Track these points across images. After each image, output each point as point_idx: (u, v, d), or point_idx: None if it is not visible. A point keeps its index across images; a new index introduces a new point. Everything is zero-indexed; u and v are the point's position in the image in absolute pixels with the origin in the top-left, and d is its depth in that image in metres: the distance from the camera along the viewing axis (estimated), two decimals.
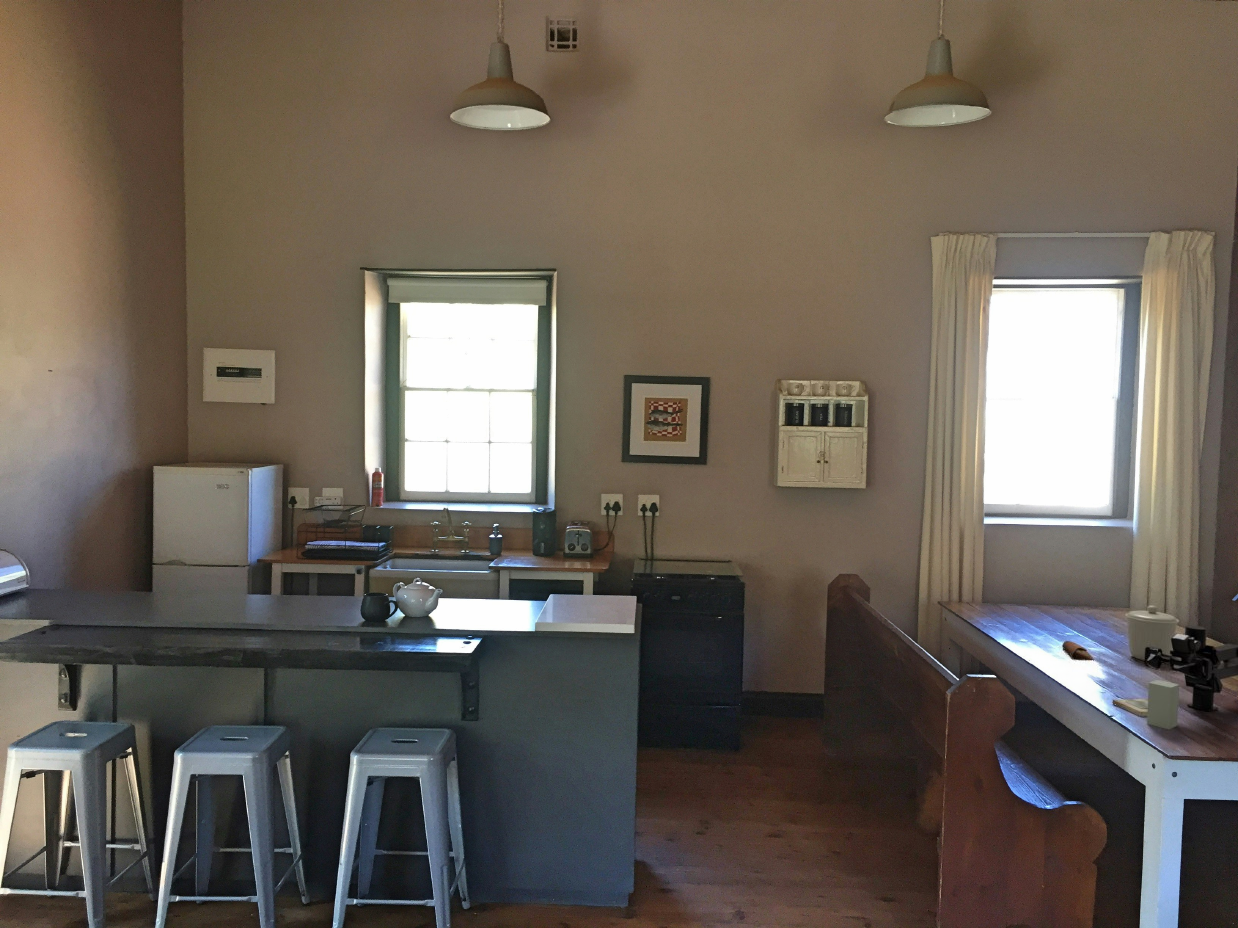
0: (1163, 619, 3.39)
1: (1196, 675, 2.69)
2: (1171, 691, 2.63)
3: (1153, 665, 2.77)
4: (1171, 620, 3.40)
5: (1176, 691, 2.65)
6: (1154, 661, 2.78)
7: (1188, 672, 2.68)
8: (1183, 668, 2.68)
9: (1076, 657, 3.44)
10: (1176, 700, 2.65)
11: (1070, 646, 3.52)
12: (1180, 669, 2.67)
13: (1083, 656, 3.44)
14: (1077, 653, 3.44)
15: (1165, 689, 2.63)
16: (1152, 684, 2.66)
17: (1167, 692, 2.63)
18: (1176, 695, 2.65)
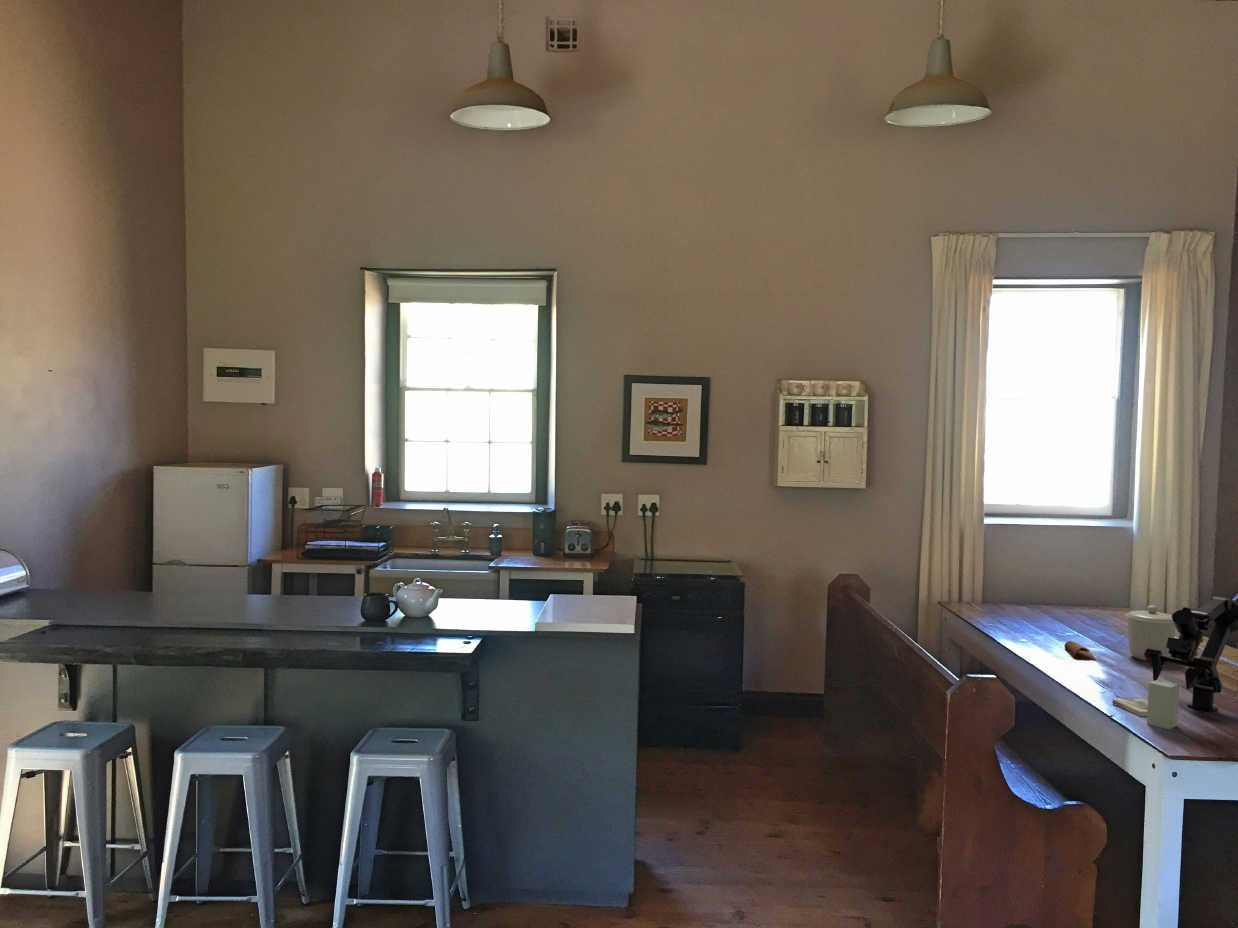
0: (1163, 619, 3.39)
1: (1203, 677, 2.67)
2: (1171, 691, 2.63)
3: (1159, 673, 2.75)
4: (1171, 620, 3.40)
5: (1176, 691, 2.65)
6: (1158, 669, 2.75)
7: (1196, 682, 2.66)
8: (1191, 684, 2.66)
9: (1079, 657, 3.44)
10: (1176, 700, 2.65)
11: (1072, 646, 3.51)
12: (1188, 687, 2.65)
13: (1085, 656, 3.43)
14: (1079, 653, 3.44)
15: (1165, 689, 2.63)
16: (1152, 684, 2.66)
17: (1167, 692, 2.63)
18: (1176, 695, 2.65)
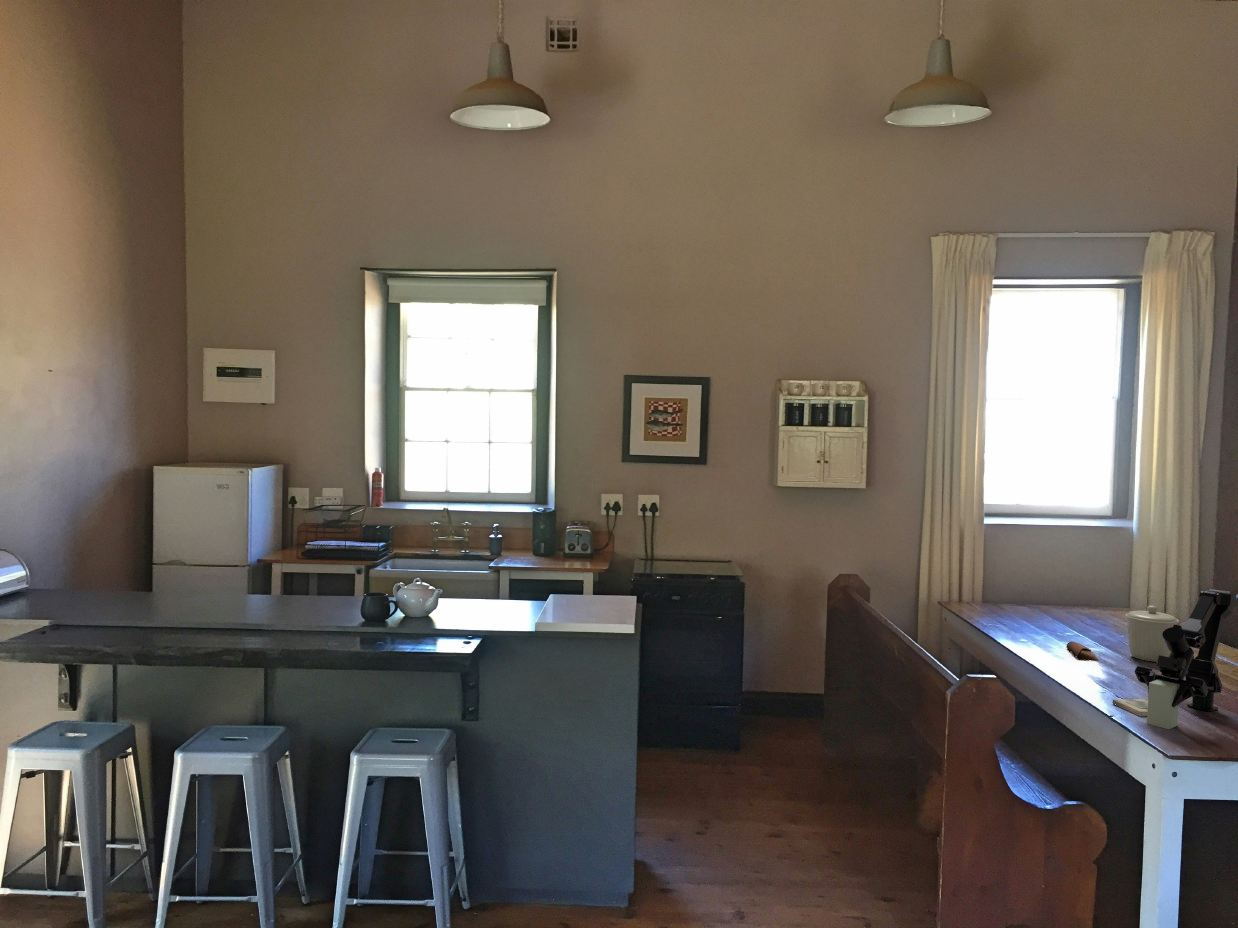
0: (1163, 619, 3.39)
1: (1189, 695, 2.65)
2: (1171, 691, 2.62)
3: None
4: (1171, 620, 3.40)
5: (1176, 691, 2.65)
6: None
7: (1181, 700, 2.64)
8: (1176, 702, 2.63)
9: (1081, 658, 3.43)
10: None
11: (1074, 647, 3.51)
12: (1174, 705, 2.63)
13: (1088, 657, 3.43)
14: (1082, 654, 3.43)
15: (1165, 689, 2.63)
16: (1152, 684, 2.66)
17: (1167, 692, 2.63)
18: None
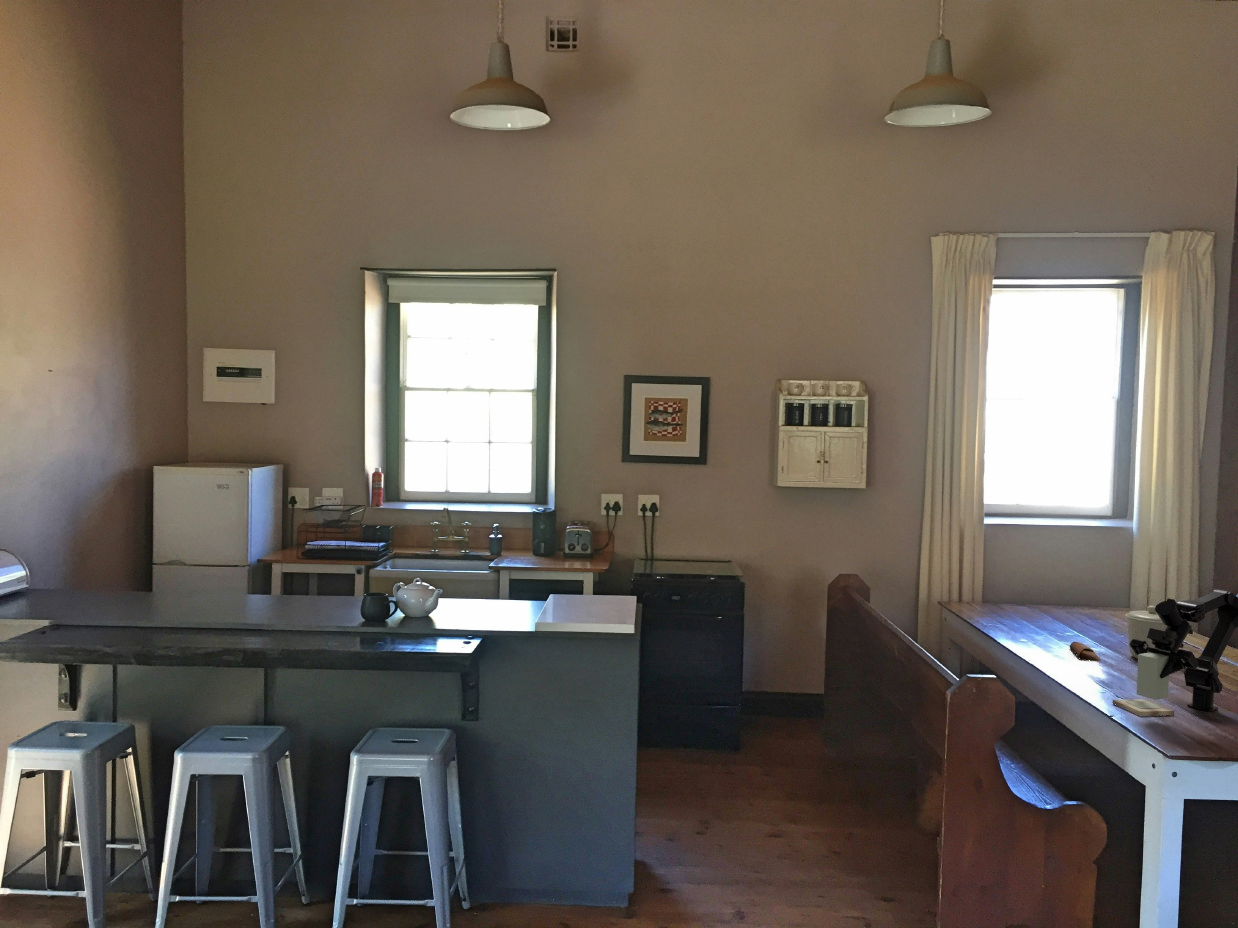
0: None
1: (1179, 667, 2.70)
2: (1158, 662, 2.68)
3: None
4: None
5: (1165, 663, 2.70)
6: None
7: (1171, 671, 2.69)
8: (1164, 673, 2.69)
9: (1082, 658, 3.43)
10: None
11: (1077, 647, 3.51)
12: (1162, 676, 2.69)
13: (1089, 657, 3.43)
14: (1083, 654, 3.43)
15: (1153, 661, 2.69)
16: (1141, 656, 2.73)
17: (1154, 663, 2.69)
18: None
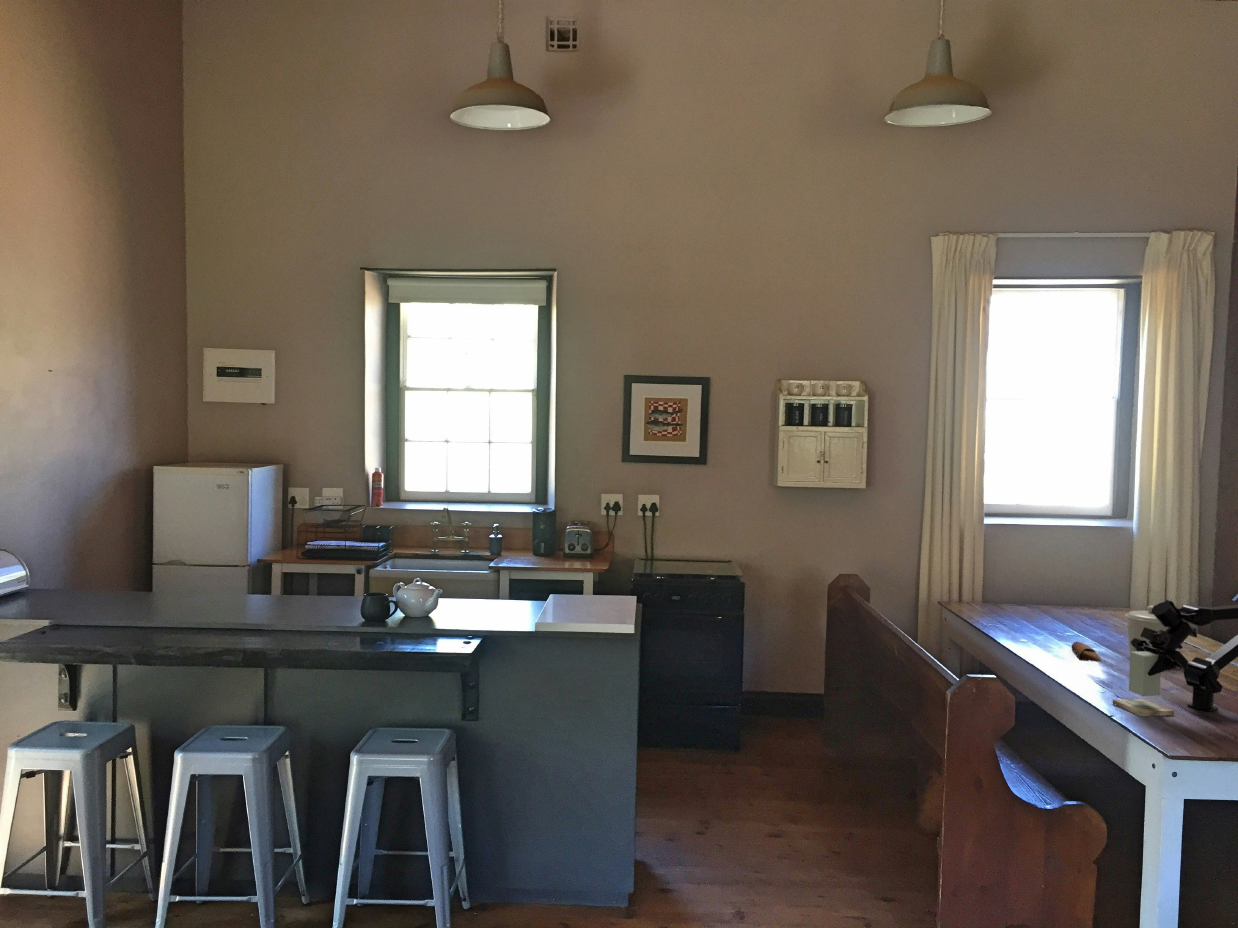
0: None
1: (1170, 666, 2.76)
2: (1145, 660, 2.77)
3: None
4: None
5: (1155, 661, 2.78)
6: None
7: (1160, 670, 2.77)
8: (1152, 671, 2.77)
9: (1083, 658, 3.43)
10: None
11: (1078, 647, 3.51)
12: (1150, 674, 2.77)
13: (1090, 657, 3.43)
14: (1084, 654, 3.43)
15: (1141, 658, 2.79)
16: (1132, 653, 2.82)
17: (1142, 661, 2.78)
18: None
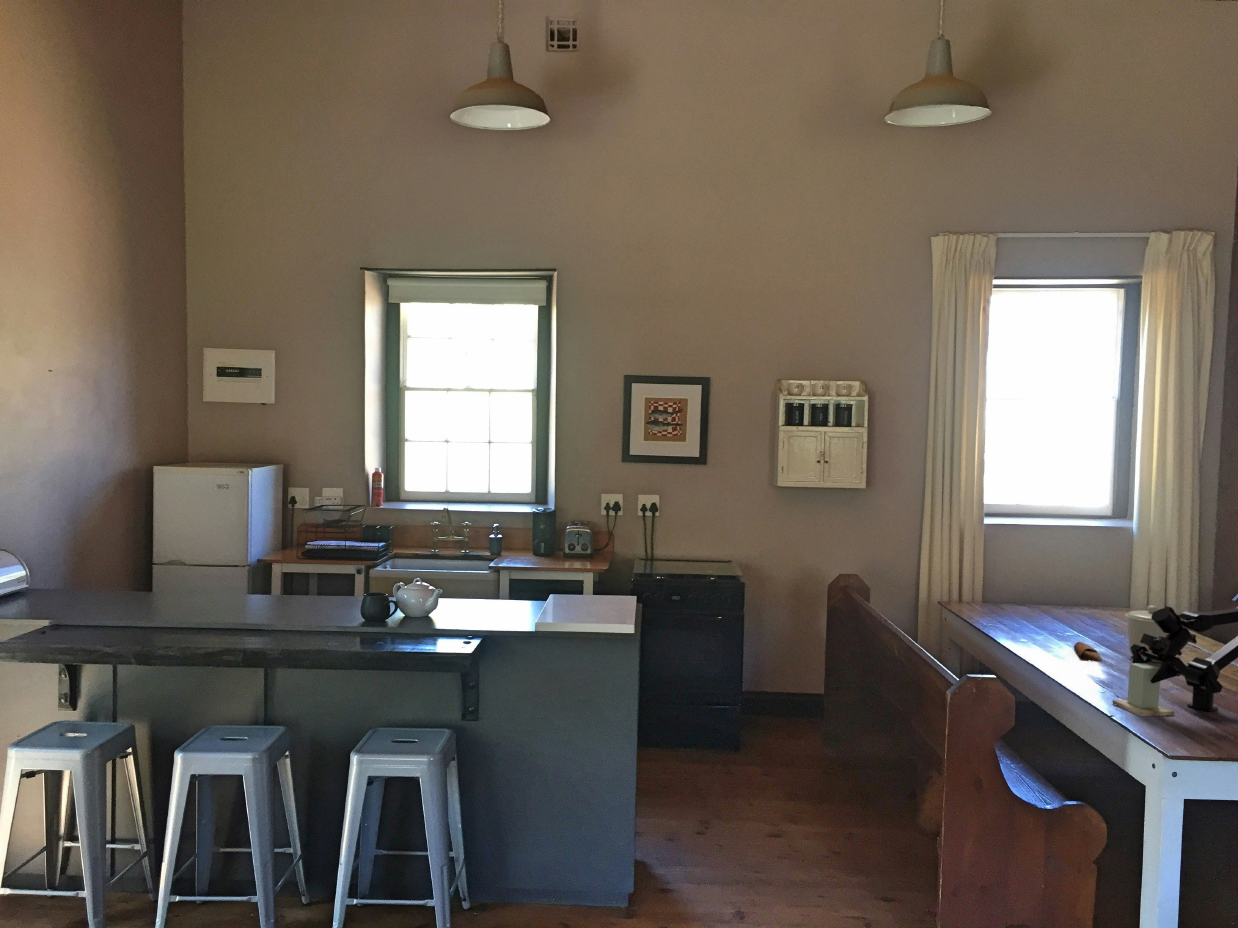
0: None
1: (1173, 674, 2.75)
2: (1145, 672, 2.78)
3: None
4: None
5: (1154, 673, 2.78)
6: None
7: (1163, 677, 2.76)
8: (1155, 679, 2.76)
9: (1084, 658, 3.43)
10: None
11: (1080, 647, 3.51)
12: (1153, 681, 2.76)
13: (1091, 657, 3.43)
14: (1085, 654, 3.43)
15: (1140, 670, 2.79)
16: (1132, 665, 2.83)
17: (1141, 672, 2.78)
18: None
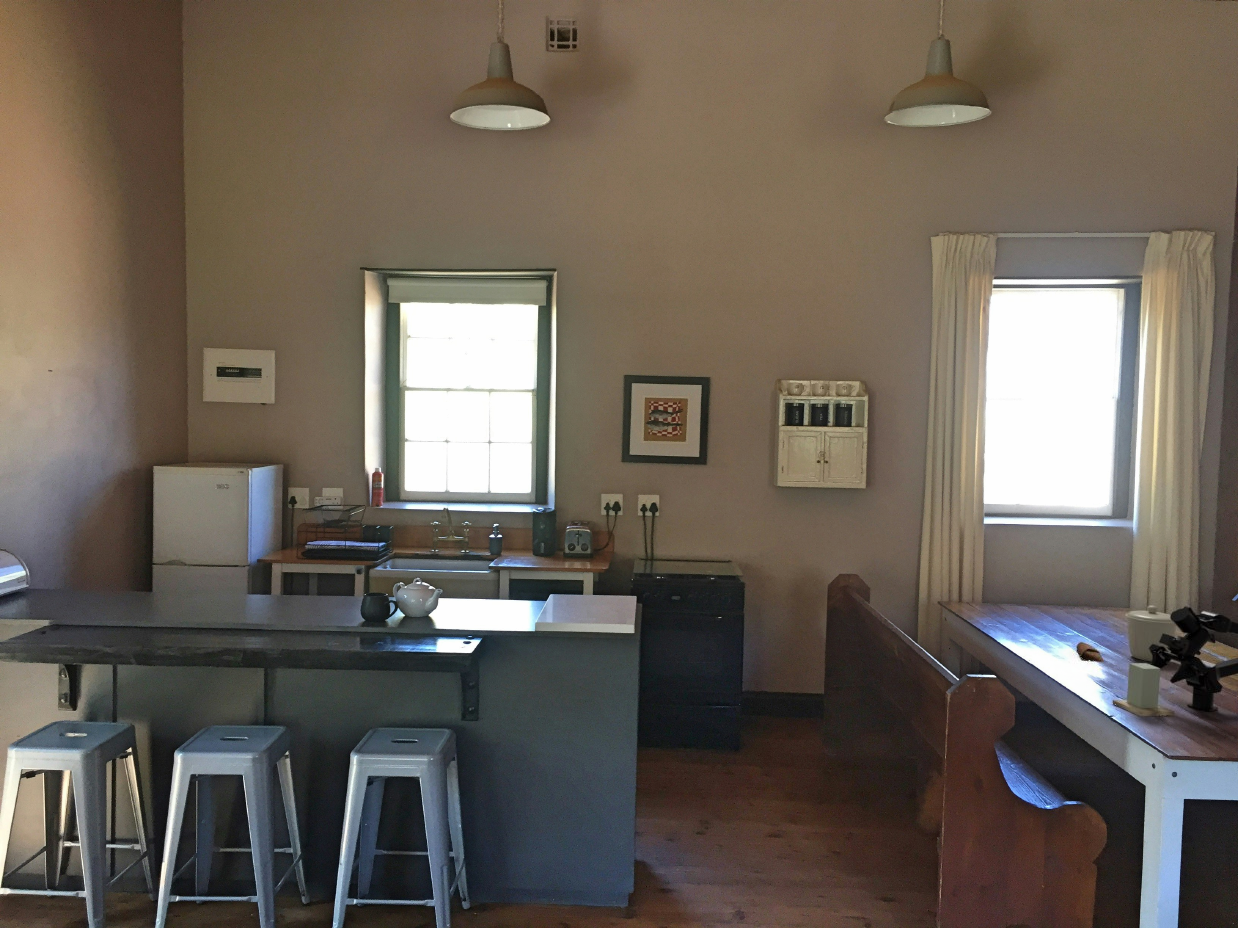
0: (1163, 619, 3.39)
1: (1193, 674, 2.76)
2: (1144, 672, 2.77)
3: None
4: (1171, 620, 3.40)
5: (1154, 674, 2.78)
6: (1158, 664, 2.87)
7: (1183, 677, 2.77)
8: (1175, 678, 2.77)
9: (1085, 658, 3.43)
10: (1155, 683, 2.78)
11: (1081, 647, 3.51)
12: (1172, 681, 2.77)
13: (1092, 657, 3.42)
14: (1086, 654, 3.43)
15: (1140, 670, 2.79)
16: (1131, 665, 2.82)
17: (1140, 673, 2.78)
18: (1154, 677, 2.78)
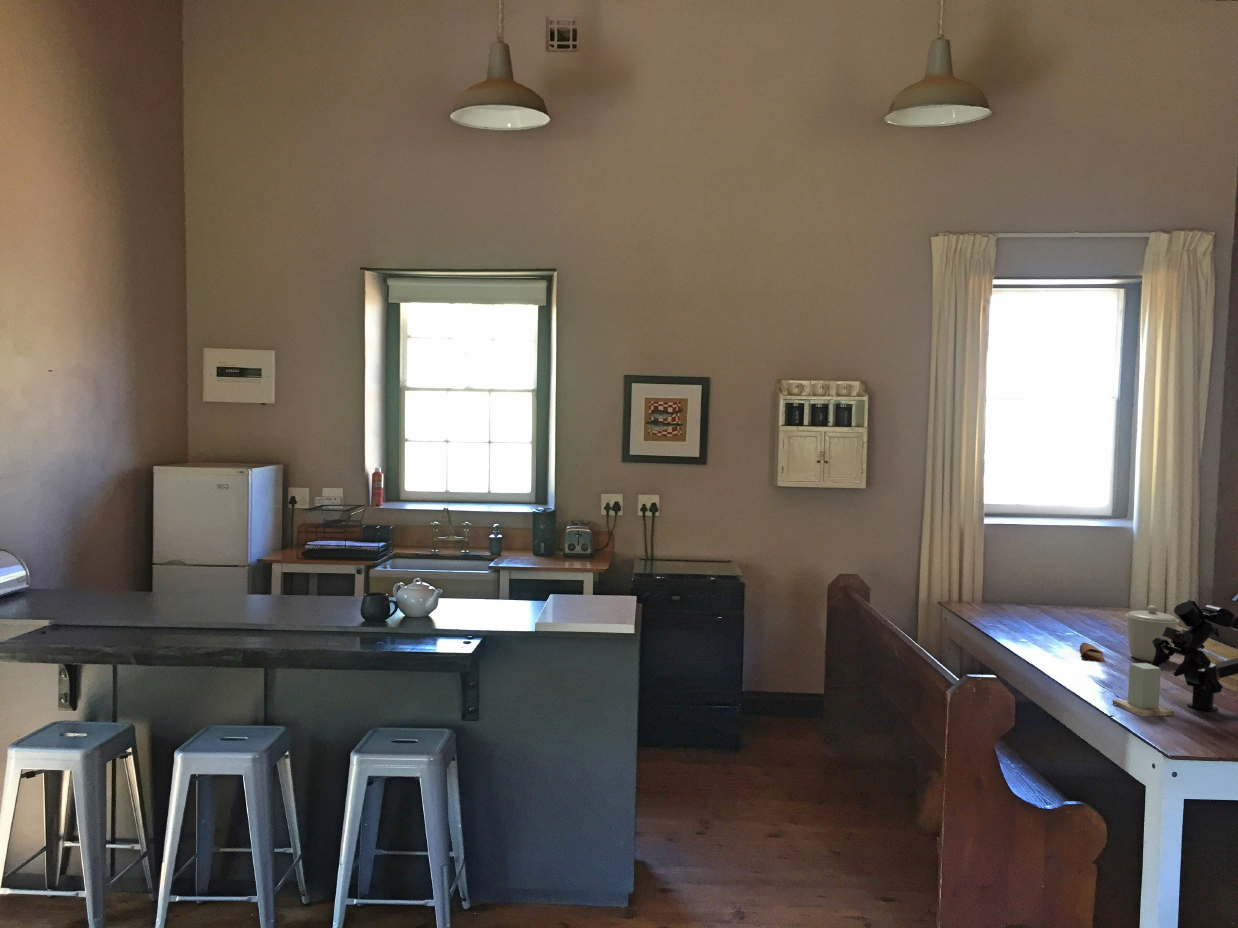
0: (1163, 619, 3.39)
1: (1196, 667, 2.76)
2: (1145, 672, 2.77)
3: (1162, 661, 2.87)
4: (1171, 620, 3.40)
5: (1154, 674, 2.78)
6: (1161, 657, 2.87)
7: (1186, 670, 2.77)
8: (1178, 672, 2.77)
9: (1086, 658, 3.43)
10: (1155, 682, 2.78)
11: (1083, 647, 3.50)
12: (1175, 674, 2.77)
13: (1093, 657, 3.42)
14: (1087, 654, 3.43)
15: (1140, 670, 2.79)
16: (1132, 665, 2.82)
17: (1141, 673, 2.78)
18: (1154, 677, 2.78)
